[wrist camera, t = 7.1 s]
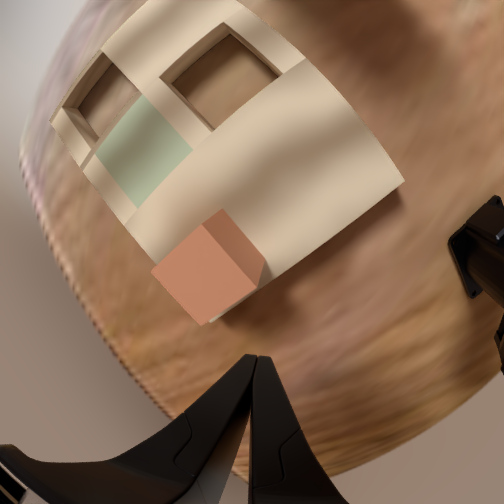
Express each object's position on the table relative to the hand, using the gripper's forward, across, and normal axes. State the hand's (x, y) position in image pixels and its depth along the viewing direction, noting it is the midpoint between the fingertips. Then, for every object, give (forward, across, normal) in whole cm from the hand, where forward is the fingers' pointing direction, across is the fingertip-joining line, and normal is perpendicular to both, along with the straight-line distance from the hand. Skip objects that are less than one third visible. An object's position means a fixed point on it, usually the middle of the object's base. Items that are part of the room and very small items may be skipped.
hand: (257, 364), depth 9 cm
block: (+9, +4, 0) cm, 10 cm away
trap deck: (+11, +6, -8) cm, 15 cm away
